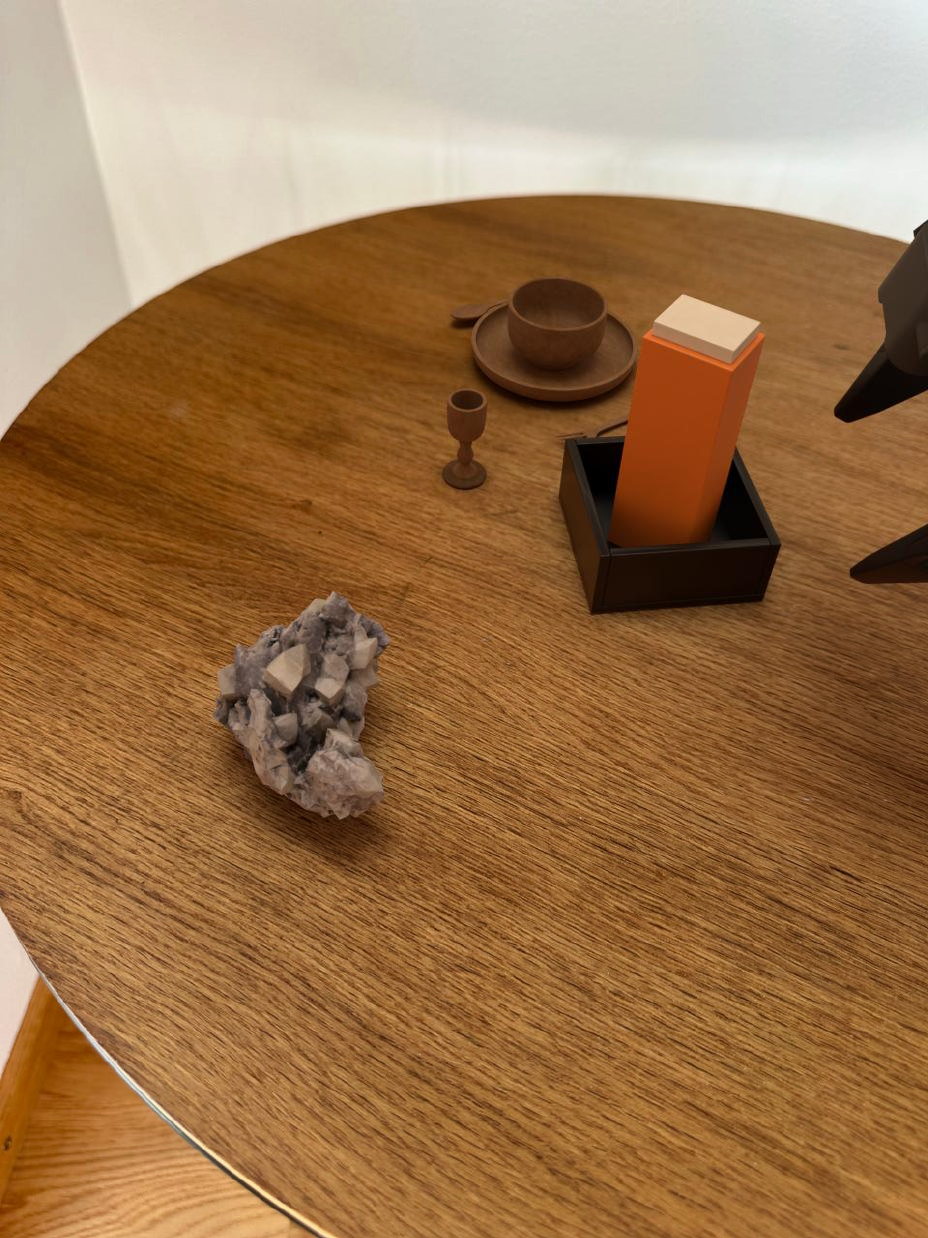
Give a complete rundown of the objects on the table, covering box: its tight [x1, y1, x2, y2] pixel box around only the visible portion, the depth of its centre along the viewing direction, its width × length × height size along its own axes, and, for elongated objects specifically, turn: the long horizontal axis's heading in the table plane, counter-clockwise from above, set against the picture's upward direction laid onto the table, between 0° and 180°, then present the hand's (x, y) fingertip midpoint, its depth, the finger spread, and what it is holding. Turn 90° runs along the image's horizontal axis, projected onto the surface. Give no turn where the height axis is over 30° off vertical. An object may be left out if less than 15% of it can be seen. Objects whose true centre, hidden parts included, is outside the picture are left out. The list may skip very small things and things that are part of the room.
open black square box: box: [558, 435, 782, 615], centre depth 64 cm, size 10×10×5 cm
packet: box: [608, 293, 766, 548], centre depth 59 cm, size 5×4×15 cm
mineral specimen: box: [210, 590, 393, 820], centre depth 52 cm, size 12×9×10 cm
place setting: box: [442, 275, 639, 490], centre depth 74 cm, size 18×20×6 cm
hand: (847, 493), depth 51 cm, fingers open, 9 cm apart
